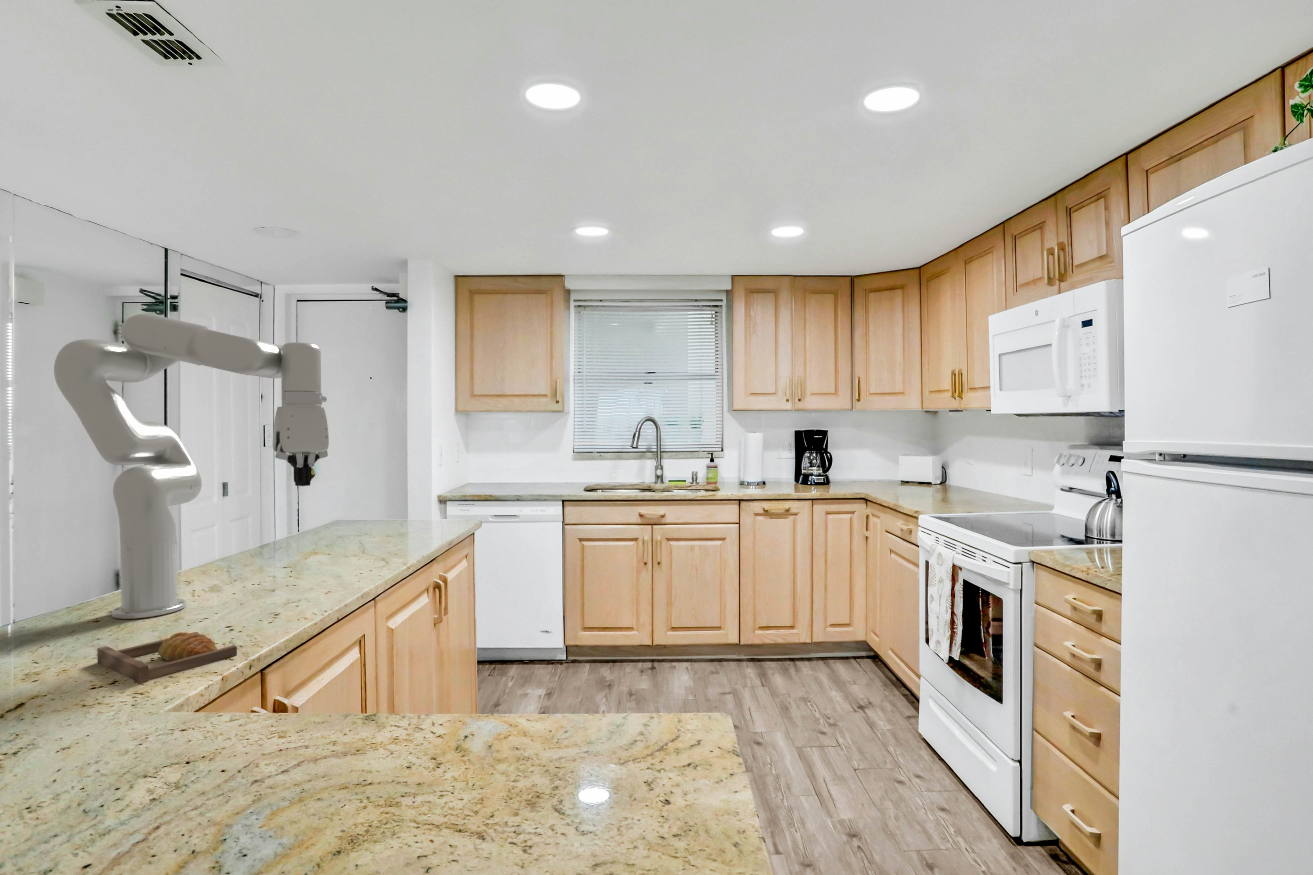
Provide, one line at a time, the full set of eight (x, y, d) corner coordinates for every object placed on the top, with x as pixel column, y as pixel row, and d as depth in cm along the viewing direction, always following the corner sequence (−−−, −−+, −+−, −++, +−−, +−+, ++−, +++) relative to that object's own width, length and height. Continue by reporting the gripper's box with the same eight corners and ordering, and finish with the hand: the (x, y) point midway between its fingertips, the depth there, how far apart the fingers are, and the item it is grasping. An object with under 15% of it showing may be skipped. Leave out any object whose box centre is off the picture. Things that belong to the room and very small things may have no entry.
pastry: (228, 654, 112) (228, 633, 112) (188, 668, 106) (187, 645, 106) (193, 647, 116) (193, 626, 116) (152, 660, 109) (151, 638, 109)
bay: (97, 662, 108) (97, 647, 108) (194, 639, 120) (193, 625, 120) (139, 683, 99) (139, 667, 99) (239, 655, 111) (238, 641, 111)
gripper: (325, 402, 147) (326, 482, 147) (256, 400, 134) (257, 487, 134) (344, 401, 143) (345, 483, 143) (274, 398, 130) (276, 489, 130)
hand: (302, 485), depth 139 cm, fingers closed
